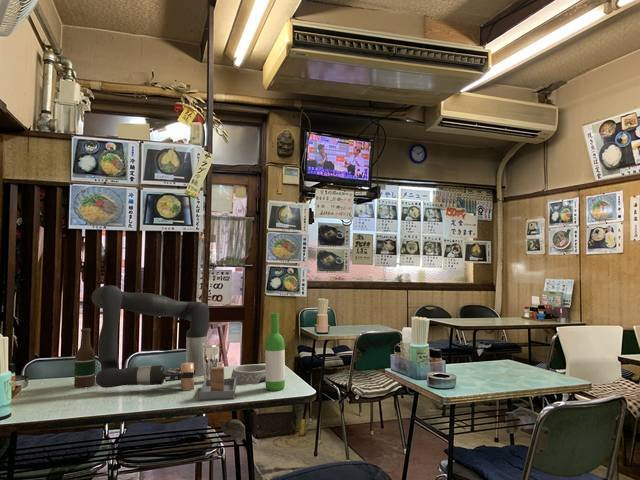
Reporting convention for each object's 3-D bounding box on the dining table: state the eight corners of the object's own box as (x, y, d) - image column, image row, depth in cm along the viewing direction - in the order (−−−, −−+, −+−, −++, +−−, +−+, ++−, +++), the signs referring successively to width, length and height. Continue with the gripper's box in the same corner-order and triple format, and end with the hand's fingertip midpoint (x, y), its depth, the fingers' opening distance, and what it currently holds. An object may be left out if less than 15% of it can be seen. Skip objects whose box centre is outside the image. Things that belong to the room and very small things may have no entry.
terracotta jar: (183, 387, 189) (182, 362, 190) (195, 387, 189) (195, 362, 190) (179, 390, 184) (179, 365, 185) (192, 390, 184) (192, 364, 185)
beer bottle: (69, 387, 192) (71, 329, 194) (85, 383, 199) (86, 327, 201) (84, 389, 189) (85, 329, 191) (99, 384, 197) (100, 327, 198)
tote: (205, 387, 190) (205, 379, 190) (236, 385, 191) (236, 378, 192) (198, 400, 169) (198, 392, 169) (233, 398, 171) (233, 390, 171)
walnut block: (212, 393, 176) (212, 367, 177) (224, 393, 177) (224, 366, 178) (210, 396, 172) (210, 369, 173) (223, 396, 172) (222, 369, 173)
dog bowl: (280, 379, 203) (280, 366, 203) (247, 387, 189) (247, 374, 190) (255, 373, 214) (254, 362, 215) (222, 381, 201) (222, 368, 201)
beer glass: (214, 383, 195) (214, 347, 196) (199, 383, 197) (199, 347, 198) (221, 379, 202) (221, 345, 203) (206, 379, 203) (206, 344, 205)
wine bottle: (277, 392, 180) (277, 314, 182) (261, 389, 184) (261, 313, 186) (288, 387, 187) (287, 312, 189) (272, 385, 191) (272, 312, 193)
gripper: (146, 369, 178) (192, 367, 180) (154, 362, 192) (196, 360, 195) (146, 389, 178) (192, 387, 180) (154, 380, 192) (196, 378, 194)
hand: (194, 373), depth 187 cm, fingers closed on terracotta jar, 5 cm apart
